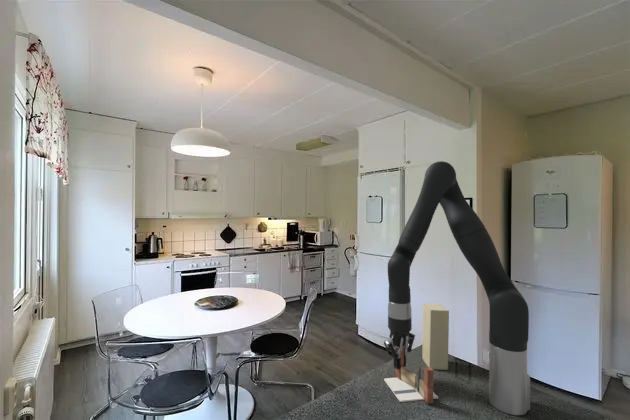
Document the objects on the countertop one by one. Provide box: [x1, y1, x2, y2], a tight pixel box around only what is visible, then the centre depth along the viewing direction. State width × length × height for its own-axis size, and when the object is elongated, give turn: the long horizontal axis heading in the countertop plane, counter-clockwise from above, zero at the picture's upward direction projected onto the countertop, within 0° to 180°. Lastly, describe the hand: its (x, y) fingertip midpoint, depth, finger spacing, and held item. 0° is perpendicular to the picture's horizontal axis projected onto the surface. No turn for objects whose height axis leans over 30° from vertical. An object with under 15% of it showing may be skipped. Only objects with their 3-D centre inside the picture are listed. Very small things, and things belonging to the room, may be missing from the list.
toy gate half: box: [395, 349, 417, 387], centre depth 97 cm, size 8×2×9 cm, turn 30°
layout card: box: [383, 376, 439, 403], centre depth 94 cm, size 12×12×1 cm
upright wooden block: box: [421, 303, 450, 371], centre depth 110 cm, size 8×7×21 cm
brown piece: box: [416, 366, 434, 405], centre depth 90 cm, size 2×7×10 cm, turn 10°
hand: (400, 367), depth 99 cm, fingers closed on toy gate half, 2 cm apart
